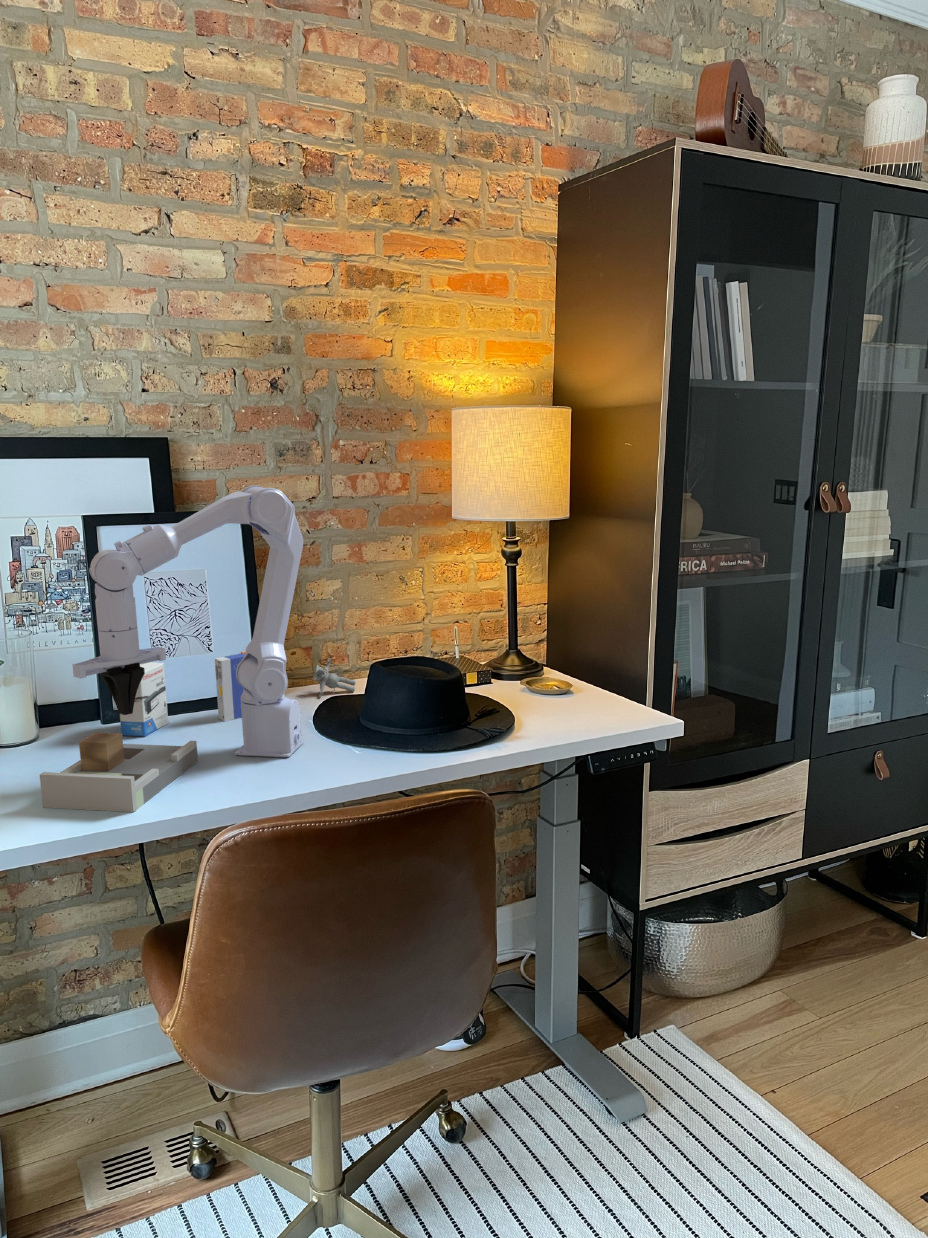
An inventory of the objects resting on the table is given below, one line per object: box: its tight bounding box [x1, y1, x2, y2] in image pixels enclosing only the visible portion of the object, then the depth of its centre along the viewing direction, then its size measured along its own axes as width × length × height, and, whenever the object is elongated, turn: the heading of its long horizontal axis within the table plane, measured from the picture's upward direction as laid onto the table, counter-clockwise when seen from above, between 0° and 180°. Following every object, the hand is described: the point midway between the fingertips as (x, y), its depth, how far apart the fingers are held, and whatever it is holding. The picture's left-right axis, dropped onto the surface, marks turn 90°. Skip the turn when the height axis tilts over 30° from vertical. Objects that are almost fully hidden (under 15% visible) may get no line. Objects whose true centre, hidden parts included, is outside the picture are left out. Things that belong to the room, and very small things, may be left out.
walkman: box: [214, 650, 246, 722], centre depth 175 cm, size 8×3×12 cm, turn 133°
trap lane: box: [38, 740, 199, 813], centre depth 142 cm, size 14×21×5 cm, turn 171°
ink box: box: [119, 661, 169, 737], centre depth 167 cm, size 8×5×12 cm, turn 168°
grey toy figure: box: [312, 658, 357, 699], centre depth 190 cm, size 10×6×9 cm
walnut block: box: [78, 732, 124, 771], centre depth 142 cm, size 4×4×4 cm
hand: (125, 713), depth 144 cm, fingers closed
